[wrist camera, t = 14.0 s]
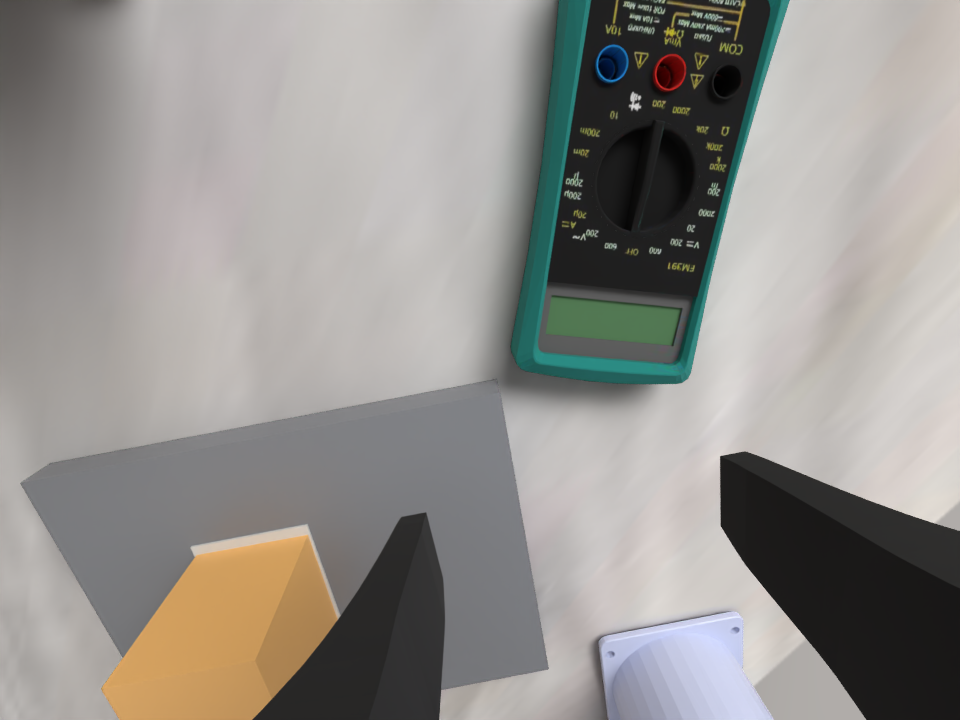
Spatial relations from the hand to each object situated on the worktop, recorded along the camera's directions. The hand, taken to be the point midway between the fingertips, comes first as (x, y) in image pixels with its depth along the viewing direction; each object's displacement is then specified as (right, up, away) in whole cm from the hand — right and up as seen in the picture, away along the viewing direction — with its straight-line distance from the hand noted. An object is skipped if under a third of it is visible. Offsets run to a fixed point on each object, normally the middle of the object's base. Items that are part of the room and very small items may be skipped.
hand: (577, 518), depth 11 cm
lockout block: (-12, -7, +10) cm, 17 cm away
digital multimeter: (+3, +11, +8) cm, 14 cm away
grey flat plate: (-10, -6, +12) cm, 17 cm away
